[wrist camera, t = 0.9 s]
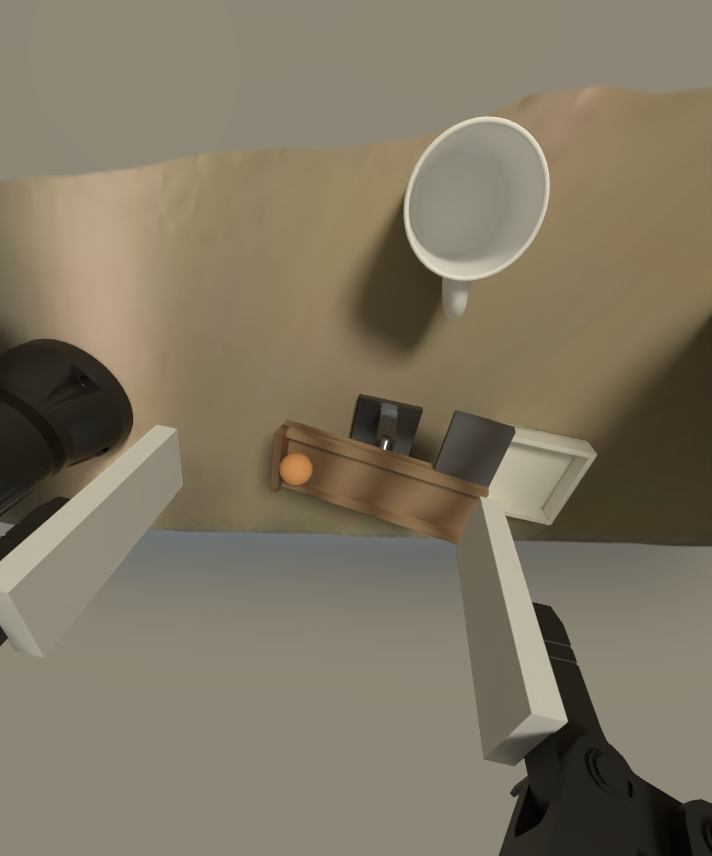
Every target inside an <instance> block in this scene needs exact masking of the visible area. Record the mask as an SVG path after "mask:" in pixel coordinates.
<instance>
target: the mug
mask: <svg viewBox="0 0 712 856" xmlns="http://www.w3.org/2000/svg"><path fill="white" fill-rule="evenodd" d="M549 187H550V183H549V172H548V167H547V163H546V160H545V157H544V154H543V152H542V150H541V148H540V146H539V145H538V143H537V142H536V140H535V139H534V138H533V136H532V135H531V134H530V133H528V132H527V131H526V130H525V129H524V128H523V127H521V126H519V125H518V124H516V123H514V122H512V121H509V120H507V119H503V118H499V117H478V118H473V119H470V120H466V121H464V122H461V123H459V124H457V125H455V126H453V127H451V128H450V129H448V130H446V131H445V132H444V133H442V134H441V135H440V136H439V137H437V138H436V139H435V140H434V141H433V142H432V143H431V144H430V145H429V147H428V148H427V149H426V150H425V152H424V153H423V154H422V156H421V157H420V159H419V160H418V162H417V164H416V165H415V168H414V170H413V172H412V174H411V176H410V179H409V182H408V185H407V189H406V193H405V199H404V226H405V231H406V235H407V238H408V241H409V244H410V246H411V248H412V250H413V252H414V253H415V255H416V256H417V258H418V259H419V260H420V261H421V262H422V264H423V265H424V266H425V267H427V268H428V269H429V270H430V271H432V272H433V273H435V274H437V275H439V276H441V277H442V303H443V312H444V315H445V317H446V318H447V319H448V320H451V321H454V320H457V319H459V318H460V317H461V316H462V314H463V312H464V310H465V307H466V303H467V299H468V294H469V289H470V284H471V281H474V280H480V279H483V278H487V277H490V276H492V275H494V274H496V273H498V272H500V271H502V270H503V269H505V268H507V267H508V266H509V265H510V264H512V263H513V262H514V261H515V260H516V259H518V258H519V257H520V256H521V255H522V254H523V252H524V251H525V250H526V249H527V248H528V247H529V245H530V244H531V242H532V241H533V239H534V238H535V236H536V234H537V232H538V230H539V229H540V226H541V224H542V221H543V219H544V216H545V213H546V209H547V205H548V199H549Z"/></svg>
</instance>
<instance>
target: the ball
mask: <svg viewBox="0 0 712 856" xmlns="http://www.w3.org/2000/svg"><path fill="white" fill-rule="evenodd" d="M312 470H313V467H312V463H311V461H310V459H309V458H308V457H307V456H306V455H304V454H302V453H291V454H288V455H287V456H285V457H284V458H283V460H282V461H281V463H280V467H279V471H280V475H281V477H282V479H283V480H284V481H285V482H286V483H288V484H290V485H295V486H296V485H301V484H304V483H305V482H307V481H308V480H309V478H310V477H311V474H312Z"/></svg>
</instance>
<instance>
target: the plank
mask: <svg viewBox="0 0 712 856" xmlns="http://www.w3.org/2000/svg"><path fill="white" fill-rule="evenodd" d="M515 433H516V431H515V427H514V426H510V425H507V424H503V423H500V422H496V421H493V420H489V419H485V418H482V417H478V416H475V415H471V414H468V413H464V412H461V411H457V410H455V412H454V415H453V417H452V420H451V423H450V426H449V428H448V431H447V434H446V436H445V439H444V442H443V444H442V447H441V450H440V452H439V455H438V458H437V461H436V463H435V464H431V463H428V462H425V461H421V460H418V459H415V458H412V457H408V456H405V455H402V454H398V453H395V452H392V451H389V450H385V449H382V448H379V447H376V446H372V445H369V444H366V443H362V442H359V441H356V440H353V439H349V438H346V437H343V436H340V435H336V434H333V433H330V432H326V431H323V430H320V429H317V428H313V427H310V426H307V425H303V424H300V423H297V422H294V421H290V420H286V421H285V422H284V424H283V425H282V426H281V427H280V428H279V429H278V430H277V431H276V432H275V433H274V442H273V457H272V473H271V489H270V490H273V491H276V492H278V491H279V489H280V488H281V487H282V486H283V487H286V488H289V489H292V490H295V491H298V492H301V493H304V494H307V495H310V496H313V497H316V498H319V499H322V500H325V501H328V502H331V503H334V504H337V505H340V506H343V507H346V508H349V509H352V510H355V511H358V512H361V513H364V514H367V515H370V516H373V517H376V518H379V519H382V520H385V521H388V522H391V523H394V524H397V525H400V526H403V527H406V528H409V529H412V530H415V531H418V532H421V533H424V534H427V535H430V536H433V537H436V538H439V539H442V540H446V541H448V542H451V543H454V544H457V543H458V541H459V539H460V537H461V535H462V532H463V530H464V528H465V526H466V524H467V522H468V520H469V518H470V516H471V514H472V512H473V510H474V508H475V506H476V504H477V502H478V500H479V498H480V496H481V497H485V498H487V497H488V495H489V486H490V484H491V482H492V480H493V478H494V476H495V474H496V472H497V470H498V468H499V466H500V464H501V462H502V460H503V458H504V456H505V454H506V451H507V449H508V447H509V445H510V443H511V441H512V439H513V437H514V435H515ZM291 453H302V454H304V455H306V456H307V457H308V458H309V459H310V461H311V463H312V467H313V470H312V474H311V477H310V478H309V480H308V481H307V482H305V483H304V484H301V485H296V486H295V485H290V484H288V483H286V482H285V481H284V480H283V479H282V477H281V475H280V471H279V467H280V463H281V461H282V460H283V458H284V457H285V456H287V455H288V454H291Z"/></svg>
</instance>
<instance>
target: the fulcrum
mask: <svg viewBox="0 0 712 856" xmlns="http://www.w3.org/2000/svg"><path fill="white" fill-rule="evenodd" d="M422 412H423V407H418V406H413V405H409V404H404V403H400V402H395V401H391V400H386V399H381V398H377V397H372V396H368V395H363V394H360V397H359V402H358V407H357V412H356V417H355V422H354V427H353V432H352V437H351V439H353V440H356V441H359V442H362V443H366V444H369V445H372V446H376V447H379V448H382V449H385V450H389V451H392V452H395V453H398V454H402V455H405V456H409V453H410V450H411V446H412V443H413V440H414V437H415V434H416V431H417V427H418V424H419V421H420V418H421V415H422Z"/></svg>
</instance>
